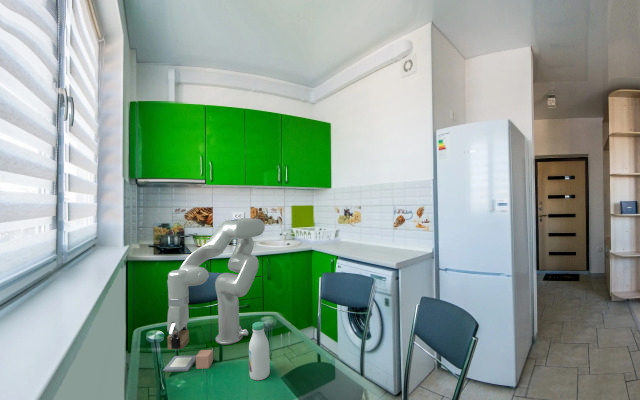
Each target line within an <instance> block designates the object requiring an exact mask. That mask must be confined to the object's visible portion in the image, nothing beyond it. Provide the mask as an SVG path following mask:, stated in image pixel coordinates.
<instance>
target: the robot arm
mask: <svg viewBox="0 0 640 400" xmlns="http://www.w3.org/2000/svg"><path fill="white" fill-rule="evenodd" d="M265 229H266V226H265V222H264V221H263V220H262V219H259V218H247V217H243V218H239V219H237V220H231V219H230V220H229V219H228V220H224V221H223V222H221V223H220V225H219V226H218V227H217V229H216V230H215V231H214V233H213V234H212V235H211V236H210V238H209V239H208V240H207V242H206V243H205V244H203V245H202V246H201V245H200V247H198V248H196V250H194V251H193V252H191V254H189V255H188V256H187V258H185V260H184V261H183V262H182V264H181V265H180V266H179V268H178V269H175V270H174V269H173V270H171V271H170V272H168V274H167V277H168V278H167V285H168V286H167V287H168V289H167V290H168V293H167V295H168V297H167V298H168V310H167V325H166V326H167V327H166V329H167V332H168V336H170V337H171V347H172V349H171V350H180V349H179V348H180V338H179V333H180V330H188V324H189V321H190V319H189V318H190V316H189V315H190V314H189V313H190V312H189V303H190V301H189V294H190V293H189V287H193V286H194V287H195V286H199V285H201V286H202V285H203V284H204V283H206V282H207V280H208V278H209V271H208V270H207V269H206V268H204V267H203V266H202V267H201V265H202V264H203V263H204V262H206V261H208V260H210V259H214V258H216V257H218V256H220V255H222V254H223V253H224V251H225V250H226V249H227V247H228V246H229V245H230V243H231V242H232V240H233V239H235V240H237V243H236V244H235V245H236V246H235V247H234V249H233V251H232V253H231V256H230V258H229V260H228V263H227V268H228V270H230V271H231V272H234V273H231V272H222V273H221V274H219V275H218V276H217V277H216V278H215V281H214V282H215V283H214V287H215V291H216V297H217V312H218V313H217V315H218V319H217V320H218V334H217V335H216V337H215V342H216V343H217V344H219V345H225V346H226V345H233V344H236V343H237V342H239V341H241V340H242V339H243V337H244V336H249V331H248V330H247V329H246V328H245V329H242V326H241V325H240V311H239V310H240V307H239V305H240V302H239V298H241V297H244V296H245V295H247V293H248V292H249V290H250V288H251V286H252V285H253V282H254V281H255V277H256V275H257V273H258V269H259V268H260V267H259V264H260V263H259V259H258V257H257V256H256V255H254V254H252V253H253V251H254V247H255V246H254V240H253V238H255V237H259V236H261V235H262V234H263V233H264V231H265ZM236 273H238V274H236ZM174 330H177V331H174ZM174 332H177V335H176V334H174Z"/></svg>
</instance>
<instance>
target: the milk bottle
mask: <svg viewBox="0 0 640 400" xmlns="http://www.w3.org/2000/svg"><path fill="white" fill-rule="evenodd" d="M251 326H252V329H251V330H252V335H251V338H250V339H249V340H250V341H249V343H248V344H249V345H248V364H249V365H248V368H249V369H248V371H249V377H250V379H252V381H262V380H265V379H266V378H268V377H269V375H270V370H271V368H270V367H271V366H270V343H269V340H268V338H267V335H266V333H265V322H263V321H256V322H254V323H252V325H251Z"/></svg>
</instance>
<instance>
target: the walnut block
mask: <svg viewBox="0 0 640 400" xmlns="http://www.w3.org/2000/svg"><path fill="white" fill-rule="evenodd" d="M174 331H177V329H175V330H174ZM189 331H190V329H187V330H180V333H179V338H180V348H179V349H178V350H184V349H185V347H186V345H188V343H190V336H189V335H190V333H189ZM174 334H176V335H177V332H174ZM166 341H167V350H173V349H172V347H171V337H170V336H169V335H168V336H167V340H166Z"/></svg>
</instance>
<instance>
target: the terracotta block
mask: <svg viewBox="0 0 640 400" xmlns="http://www.w3.org/2000/svg"><path fill="white" fill-rule="evenodd" d="M213 354H214V353H213V349H201V350H199V351H198V353H197V354H196V355H197V356H196V361H195V369H197V370H199V369H201V370H202V369H209V368H210V367H211V365H212V363H213V360H214V359H213V357H214V355H213Z"/></svg>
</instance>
